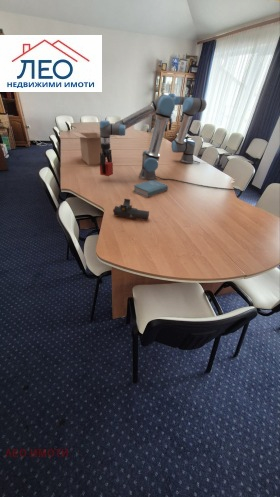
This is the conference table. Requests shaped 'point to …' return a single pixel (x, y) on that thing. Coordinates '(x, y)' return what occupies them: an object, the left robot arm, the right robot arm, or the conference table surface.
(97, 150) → the box
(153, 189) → the book
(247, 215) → the conference table surface
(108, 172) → the brick
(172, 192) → the conference table surface
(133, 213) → the laser sight
